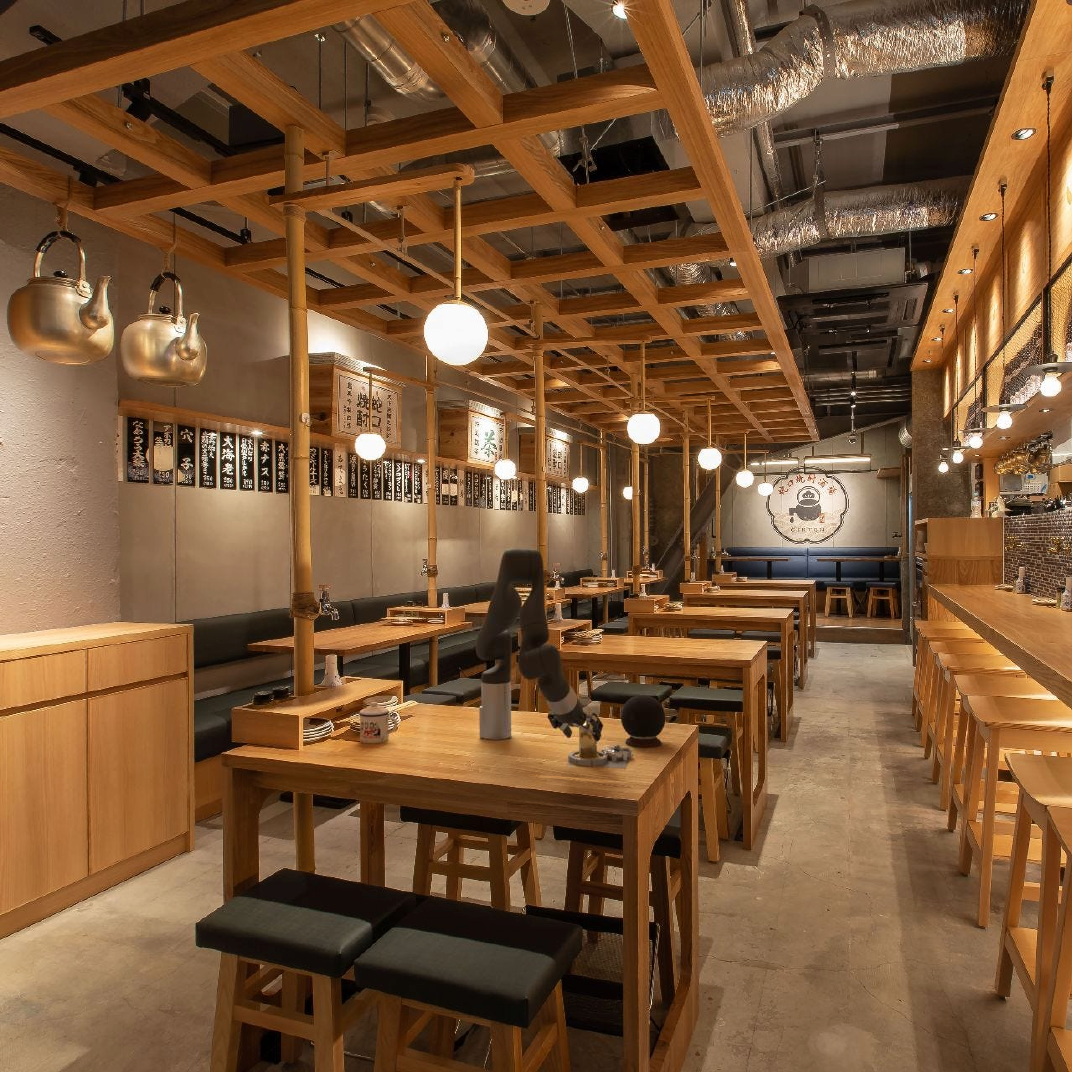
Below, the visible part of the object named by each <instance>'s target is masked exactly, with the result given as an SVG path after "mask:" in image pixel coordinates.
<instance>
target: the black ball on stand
mask: <svg viewBox="0 0 1072 1072" xmlns="http://www.w3.org/2000/svg"><path fill="white" fill-rule="evenodd" d="M666 719H667V717H666V713H665V709H664V707H663V706H662V703H660V702H659V701H658V700H657V699H656V698H654V697H652V696H650V695H648V694H647V695H646V694H638V695H635V696H632V697H630V698H629V699H628V700H626V702H625V703H624V705H623V707H622V708H621V712H620V721H621V726H622V728H623V730H624V731H625V732H626V733H627V734H628V736H629V737H627V739H625V742H624V743H625V745H626V746H628V747H631V748H632V747H633V748H638V749H651V748H658V747H661V746H662V741H661V739H660V738H658V736H659V735H660V734H661V733H662V731H663V729H664V727H665V724H666Z"/></svg>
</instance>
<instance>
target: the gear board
mask: <svg viewBox="0 0 1072 1072" xmlns="http://www.w3.org/2000/svg"><path fill="white" fill-rule="evenodd" d="M578 754H579V750H574V751H571V752H570V753H568V756H567V757H568V760H567V763H566V764H565V765H568V766H569V765H570V766H582V767H593V768H594V767H596V768H597V767H598V768H610V769H625V770H626V768H627V767H628V765H629V763H630V761H631V759H632V758H631V759H627V761H612V760H608V754H603V752H602V750H597V754H599V755H600V757H602V758H597V759H591V760H590V759H578V758H576V757H574V756H575V755H578ZM633 756H634V754H633V753H632V757H633Z"/></svg>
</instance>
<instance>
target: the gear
mask: <svg viewBox="0 0 1072 1072" xmlns="http://www.w3.org/2000/svg"><path fill="white" fill-rule="evenodd" d="M601 752H603V754H608V760H612V761H627V759H633V756H632V754H633V752H632V750H631V748H629V747H623V746H620V745H619V744H614V745H613V746H606V747H605V748H602V749H601Z"/></svg>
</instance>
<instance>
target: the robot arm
mask: <svg viewBox="0 0 1072 1072" xmlns="http://www.w3.org/2000/svg"><path fill="white" fill-rule="evenodd" d="M544 571H545V570H544V561H543V556H542V554H541V552H540V551H539V550H538V549H535V548H534V549H533V548H517V547H515V548H507V549H506V550H505V551H504V552H503V554H502V556H501V560H500V564H499V569H498V575H497V580H496V584H495V587H494V590H493V593H492V595H491V598H490V600H489V601H490V602H489V605H488V608H487V611H486V616H485V619H484V621H483V624H482V626H481V628H480V630H479V632H478V634H477V636H476V637H477V638H476V641H475V653H476V656H477V657H478V658H479V659H480V660H484V661H497V660H498V662H497V663H496V664H495V665H494V666H493V667H491V668H489V669H487V670H484V671H482V673H481V676H480V677H481V678H480V679H481V680H480V681H481V682H480V683H481V686H480V687H481V705H480V706H479V707H478V708H479V711H478V713H479V718H478V719H479V738H481V739H485V740H491V741H494V740H495V741H498V740H506V739H509V738H511V737H512V680H511V678H512V677H511V676H512V652H513V651H512V649H513V643H512V642H513V639H512V635H511V633H510V631H509V629H510V628H511V627H513V626H514V624H515V623H516V622H517V620H518V622H519V630H520V637H521V640H520V647H519V648H520V649H519V653H518V659H517V665H518V670H519V673H520V674H521V676H522V677H523V678H524V679H526V680H528V681H530V680H531V681H532V680H535V679H537V687H538V689H539V690H540V693H542V695H543V697H544V699H545V700H546V701H545V702H546V703H547V705H548V708H550V709H549V712H548V714H547V719H548V721H549V723H550V725H551V726H552V728H553V729H555V730H556V729H558V730H560V731H561V732H562V733H563V734H564V736H565V737H566V738H567V739H570V738H571V737H572V734H573V730H572V728H574V727H575V728H578V729H579V728H580V729H582V730H584V731H588V732H590V733H591V734H592V736H593V738H594V739H595V741H597V742H599V741H600V740H601V737H602V731H603V727H604V724H603V722H602V721H601V719H600V717H599V716H598V715H597V713H595V712H592V713H591V715H589V714H588V715H587V713H586V712H584V708H583V704H582V702H581V700H580V699H579V697H578V695H577V694H576V692H575V690H574V688H573V687H572V686H571V685H570V683H569V682H568V680H567V678H566V676H565V674H564V671H563V667H562V657H561V653H560V651H559V649H558V648H557V647H556V646H555V645H552V644H546V643H547V642H548V641H549V639H550V633H549V626H548V619H547V614H546V608H545V607H546V604H545V603H546V602H545V572H544ZM513 583H525V584H526V583H528V584H529V583H531V590H530V592H529V594H528V596H527V597H526V599H525V600H524V602H523V601H522V598H521V595H520V593H519V592H518V590H517V588H516V587H515V586H514V585H513ZM585 722H587V723H586V726H583V725H584V723H585ZM590 725H591V726H593V728H592V729H591V728H590ZM571 727H572V728H571Z"/></svg>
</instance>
